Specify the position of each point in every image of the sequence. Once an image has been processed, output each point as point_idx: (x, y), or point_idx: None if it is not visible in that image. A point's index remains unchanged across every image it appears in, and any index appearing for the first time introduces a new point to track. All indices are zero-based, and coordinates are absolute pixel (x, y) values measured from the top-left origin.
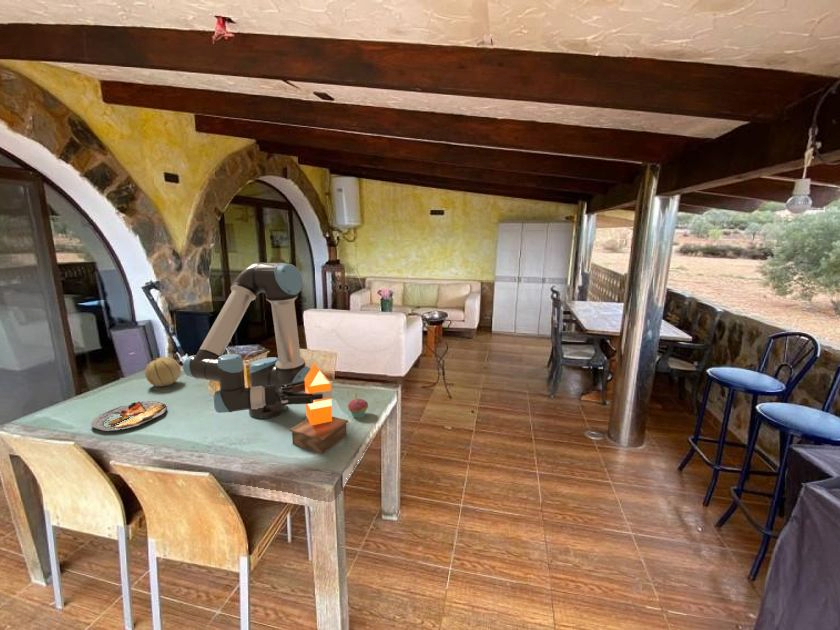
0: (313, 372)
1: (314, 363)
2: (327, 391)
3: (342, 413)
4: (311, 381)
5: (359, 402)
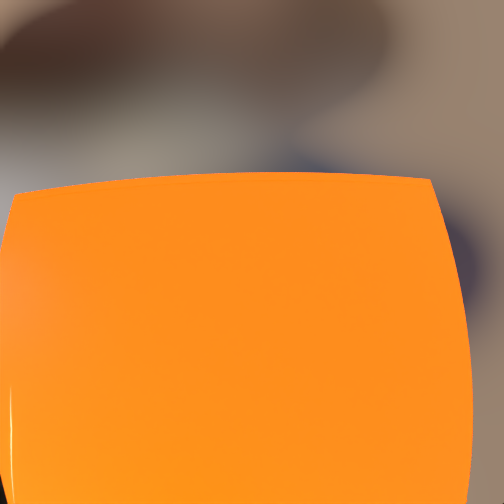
0: (228, 313)
1: (25, 193)
2: None
3: None
4: (433, 442)
5: None
